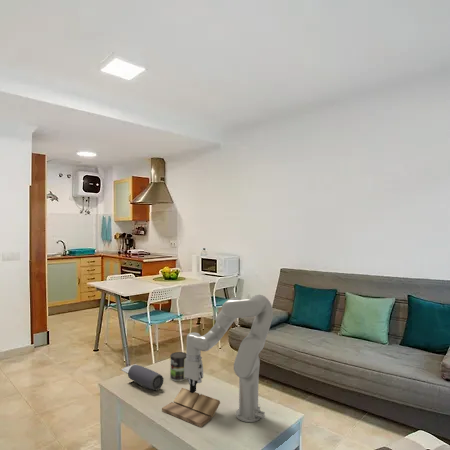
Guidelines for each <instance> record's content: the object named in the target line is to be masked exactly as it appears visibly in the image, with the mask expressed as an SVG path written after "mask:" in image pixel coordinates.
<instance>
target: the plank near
mask: <svg viewBox="0 0 450 450" xmlns="http://www.w3.org/2000/svg"><path fill="white" fill-rule="evenodd" d="M199 395H200V396H199V398H198V400H197V401H196V403H195V405H194V407H193V408H192V409H191V410H193V411H196V412H199V413H201V414H204V415H206V416H209V417H211V419H212V418H214V416H215V414H216V412H217V410H218V408H219V406H220V404H221V401H220V399H217V398H213V397H211V396H208V395H205V394H202V393H199Z"/></svg>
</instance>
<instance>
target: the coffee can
mask: <svg viewBox="0 0 450 450" xmlns="http://www.w3.org/2000/svg"><path fill="white" fill-rule="evenodd" d="M185 360H186V352H183V351H176V352H172V353H171V354H170V371H169V372H170V373H169V374H170V376H169V378H170V380H171V381H174V382H181V381H185V380H187V379H186V378H185V376H184V366H185Z"/></svg>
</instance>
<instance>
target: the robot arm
mask: <svg viewBox="0 0 450 450" xmlns="http://www.w3.org/2000/svg"><path fill="white" fill-rule="evenodd" d="M273 310H274V309H273V305H272V303H271V301H270V300H269V299H268V298H267V297H266V296H265V295H263V294H255V295H253V296H252V297H250V298H246V299H241V298H240V297H237V296H236V297H234V296H233V297H231V298H229V299H227V300H225V302H224V303H223V304H222V306H221V310H220V311H219V313H218V314H217V315H216V317H215V318H214V319H215V323H214V324H213V326H212V327H211V328H210V329H209V331H208V332H207V333H205V334H204V335H201V334H200V333H199V332H194V331H193V332H189V333H187V335H186V349H185V350H186V352H185V353H186V360H185V366H184V376H185V378H186V379H185V380H187V381H188V385H189V390H190V392H191V393H194V392H197V384H200V383H202V382H203V380H202V379H203V378H204V366H203V360H202V359H203V357H202V356H201V355H202V354H201V352H208V351H209V350H211V349H212V348H213V347H215V346H216V345H217V344H218V343H219V342H220V341H221V340H222V338H223V337H224V336H225V334H226V333H227V332H228V330H229V329H230V327H231V326H232V324H233V323H234V322H235V321H236V320H237V319H240V318H252V317H254V319H253V321H252V324H251V328H250V330H249V333H248V334H247V335H246V336H245V337H244V338H243V339H242V341H241V342H240V345H239V346H238V347H239V348H238V350H237V353H236V356H235V360H234V362H233V372H234V373H235V375H236V376H237V377H238V378H239V382H238V383H239V385H238V386H239V387H238V389H239V390H238V403H239V404H238V409H237V410H236V411H235V416H236V418H237V419H238V420H239V421H241V422H243V423H254V422H257V421H259V420H261V419H265V417H266V415H265V414H266V413H265V411H261V406H259V380H260V379H259V378H260V377H259V376H260V366H261V365H260V363H261V360H260V356H259V354H260V353H261V352H262V350H263V349H264V347H265V344H266V341H267V337H268V334H269V332H270V331H269V330H270V328H271V325H272V321H273V316H274V311H273Z"/></svg>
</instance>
